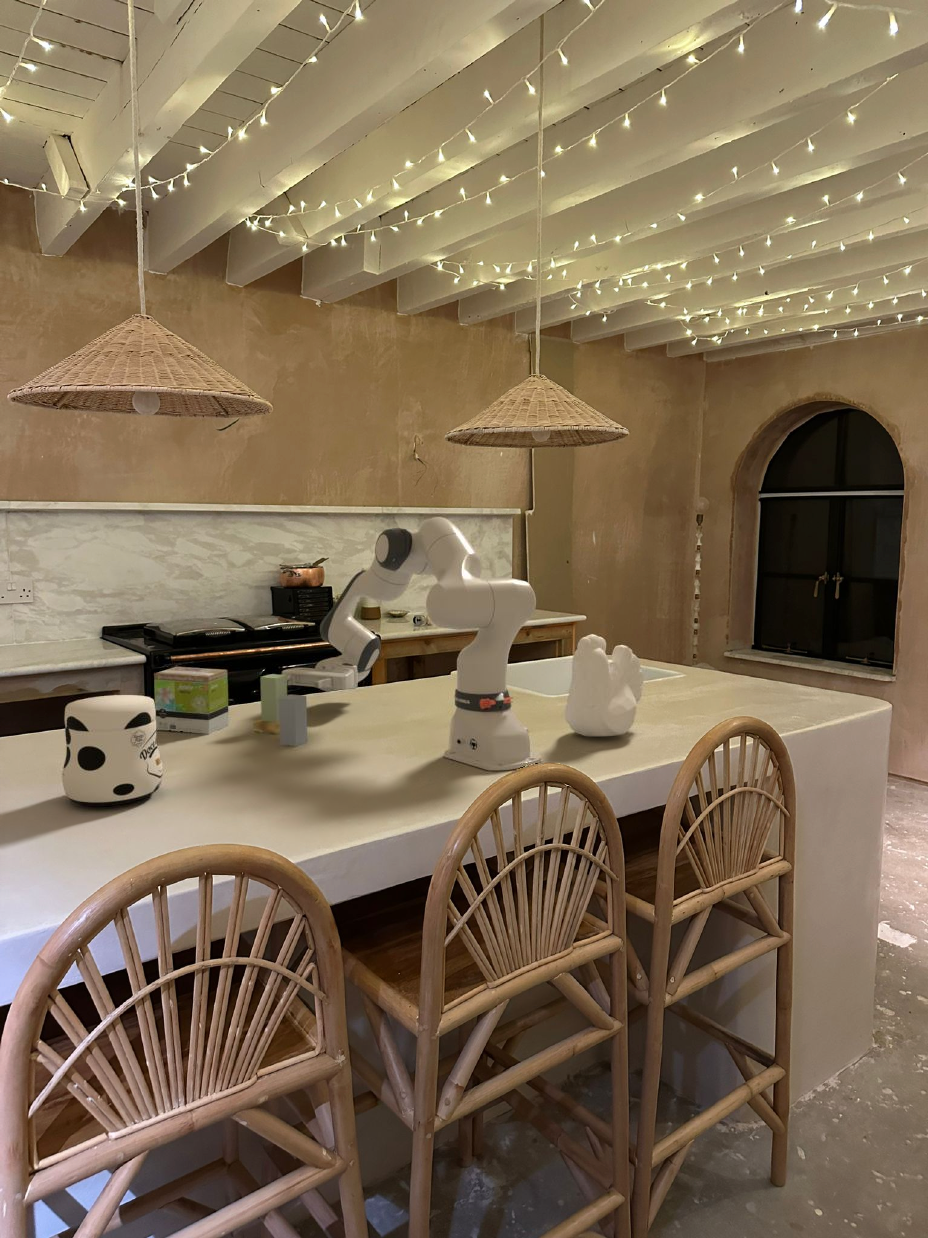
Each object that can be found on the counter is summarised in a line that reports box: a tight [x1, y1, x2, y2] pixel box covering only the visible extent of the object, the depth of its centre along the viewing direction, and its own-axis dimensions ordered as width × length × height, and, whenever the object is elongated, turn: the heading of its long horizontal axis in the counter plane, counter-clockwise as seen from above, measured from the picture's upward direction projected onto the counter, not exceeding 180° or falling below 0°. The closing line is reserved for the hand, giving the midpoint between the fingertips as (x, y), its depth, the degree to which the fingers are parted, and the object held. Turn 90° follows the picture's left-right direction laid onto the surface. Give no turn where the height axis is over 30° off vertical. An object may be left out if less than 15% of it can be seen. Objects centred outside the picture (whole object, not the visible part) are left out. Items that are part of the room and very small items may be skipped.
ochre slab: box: [253, 718, 280, 735], centre depth 213 cm, size 7×7×2 cm
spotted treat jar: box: [61, 694, 164, 807], centre depth 159 cm, size 17×17×18 cm
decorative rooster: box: [563, 633, 644, 737], centre depth 208 cm, size 25×16×25 cm, turn 120°
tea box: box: [153, 666, 229, 735], centre depth 213 cm, size 15×10×15 cm, turn 76°
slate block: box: [279, 693, 308, 747], centre depth 199 cm, size 4×4×11 cm
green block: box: [260, 673, 288, 723], centre depth 212 cm, size 4×4×11 cm
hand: (301, 683), depth 223 cm, fingers open, 8 cm apart
